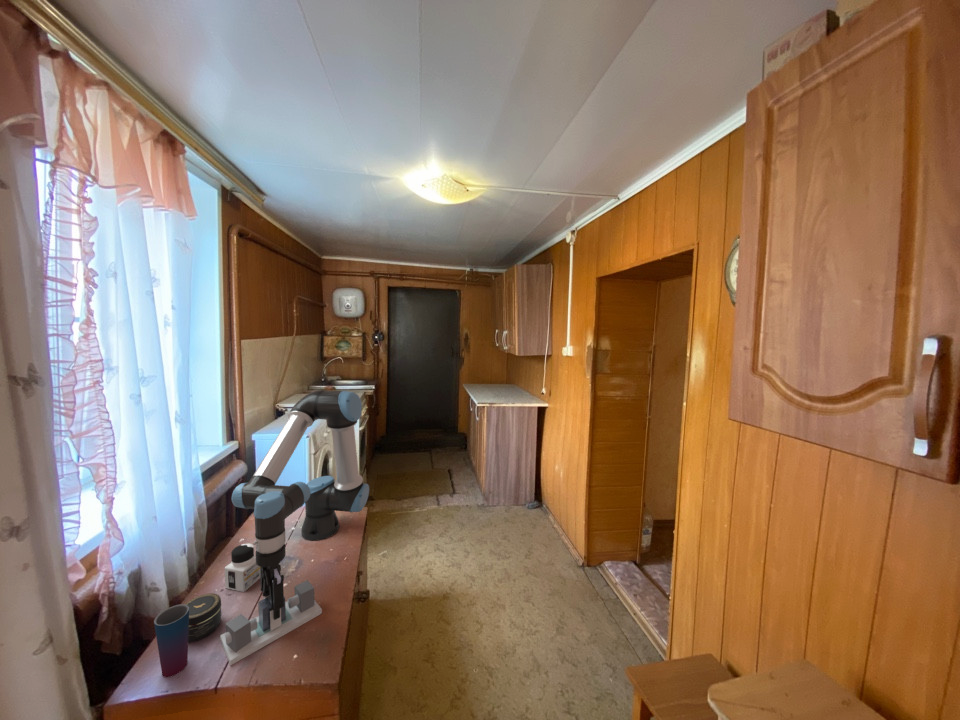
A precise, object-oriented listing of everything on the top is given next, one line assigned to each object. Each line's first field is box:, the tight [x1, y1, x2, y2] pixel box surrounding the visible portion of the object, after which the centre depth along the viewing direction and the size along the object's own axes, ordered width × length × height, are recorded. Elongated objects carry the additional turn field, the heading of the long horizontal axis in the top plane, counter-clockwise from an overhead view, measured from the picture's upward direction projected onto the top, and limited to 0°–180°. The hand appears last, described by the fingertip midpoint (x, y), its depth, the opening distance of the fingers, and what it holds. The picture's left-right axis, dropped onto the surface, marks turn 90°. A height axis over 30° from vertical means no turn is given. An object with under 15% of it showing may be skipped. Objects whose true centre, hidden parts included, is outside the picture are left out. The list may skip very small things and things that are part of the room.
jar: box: [185, 592, 222, 643], centre depth 103 cm, size 10×10×8 cm
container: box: [224, 543, 261, 593], centre depth 122 cm, size 8×8×13 cm
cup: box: [153, 603, 189, 678], centre depth 91 cm, size 7×7×15 cm
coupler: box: [257, 596, 286, 632], centre depth 105 cm, size 6×4×7 cm
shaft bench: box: [219, 579, 323, 666], centre depth 105 cm, size 24×11×8 cm, turn 137°
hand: (272, 621), depth 105 cm, fingers open, 5 cm apart
